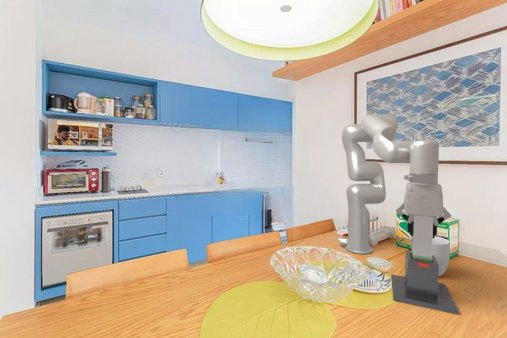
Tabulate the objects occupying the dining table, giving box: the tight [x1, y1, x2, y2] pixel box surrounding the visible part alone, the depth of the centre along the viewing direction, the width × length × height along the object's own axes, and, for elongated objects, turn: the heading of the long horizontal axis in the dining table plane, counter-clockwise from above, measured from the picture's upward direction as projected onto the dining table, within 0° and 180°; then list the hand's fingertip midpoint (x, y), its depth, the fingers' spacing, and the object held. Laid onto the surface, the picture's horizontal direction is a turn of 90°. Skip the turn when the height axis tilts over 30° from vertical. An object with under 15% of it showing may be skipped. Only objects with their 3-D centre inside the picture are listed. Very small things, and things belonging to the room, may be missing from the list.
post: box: [410, 215, 433, 262], centre depth 81 cm, size 5×5×20 cm
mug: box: [432, 235, 451, 278], centre depth 96 cm, size 15×11×13 cm
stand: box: [390, 251, 459, 315], centre depth 82 cm, size 16×16×12 cm
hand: (421, 235), depth 81 cm, fingers closed on post, 5 cm apart
